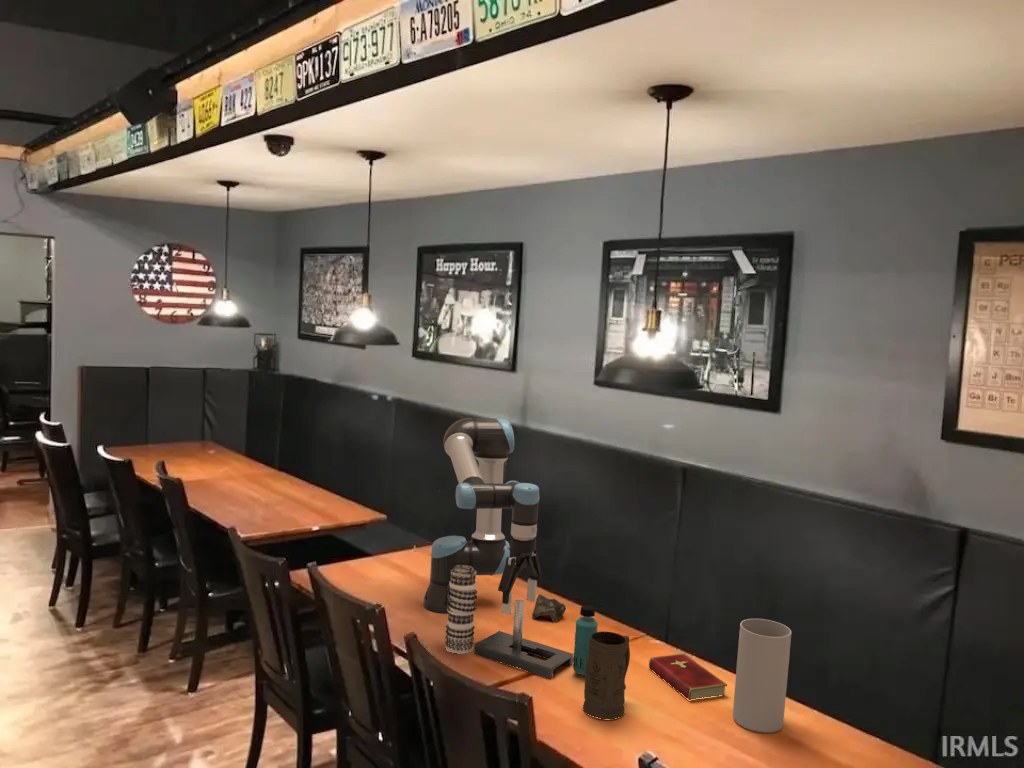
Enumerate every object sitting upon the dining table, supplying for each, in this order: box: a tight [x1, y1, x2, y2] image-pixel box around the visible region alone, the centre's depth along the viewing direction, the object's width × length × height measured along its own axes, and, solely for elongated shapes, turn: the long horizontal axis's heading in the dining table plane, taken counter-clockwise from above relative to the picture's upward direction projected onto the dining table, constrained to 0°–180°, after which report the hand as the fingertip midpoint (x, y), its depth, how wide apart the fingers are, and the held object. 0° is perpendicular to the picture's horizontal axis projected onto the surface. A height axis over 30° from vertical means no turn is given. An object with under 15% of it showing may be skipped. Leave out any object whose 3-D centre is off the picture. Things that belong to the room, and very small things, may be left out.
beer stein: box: [582, 631, 631, 719], centre depth 213 cm, size 15×11×20 cm
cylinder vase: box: [732, 618, 792, 734], centre depth 210 cm, size 12×12×25 cm
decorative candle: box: [444, 565, 479, 655], centre depth 245 cm, size 9×9×25 cm
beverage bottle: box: [572, 604, 599, 676], centre depth 231 cm, size 6×7×20 cm
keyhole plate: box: [473, 630, 574, 680], centre depth 241 cm, size 26×13×3 cm, turn 57°
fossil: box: [531, 593, 567, 623], centre depth 275 cm, size 11×9×10 cm
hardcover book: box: [648, 653, 728, 700], centre depth 231 cm, size 12×21×4 cm, turn 21°
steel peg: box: [511, 599, 525, 652], centre depth 241 cm, size 5×5×17 cm
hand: (518, 607), depth 241 cm, fingers open, 13 cm apart
